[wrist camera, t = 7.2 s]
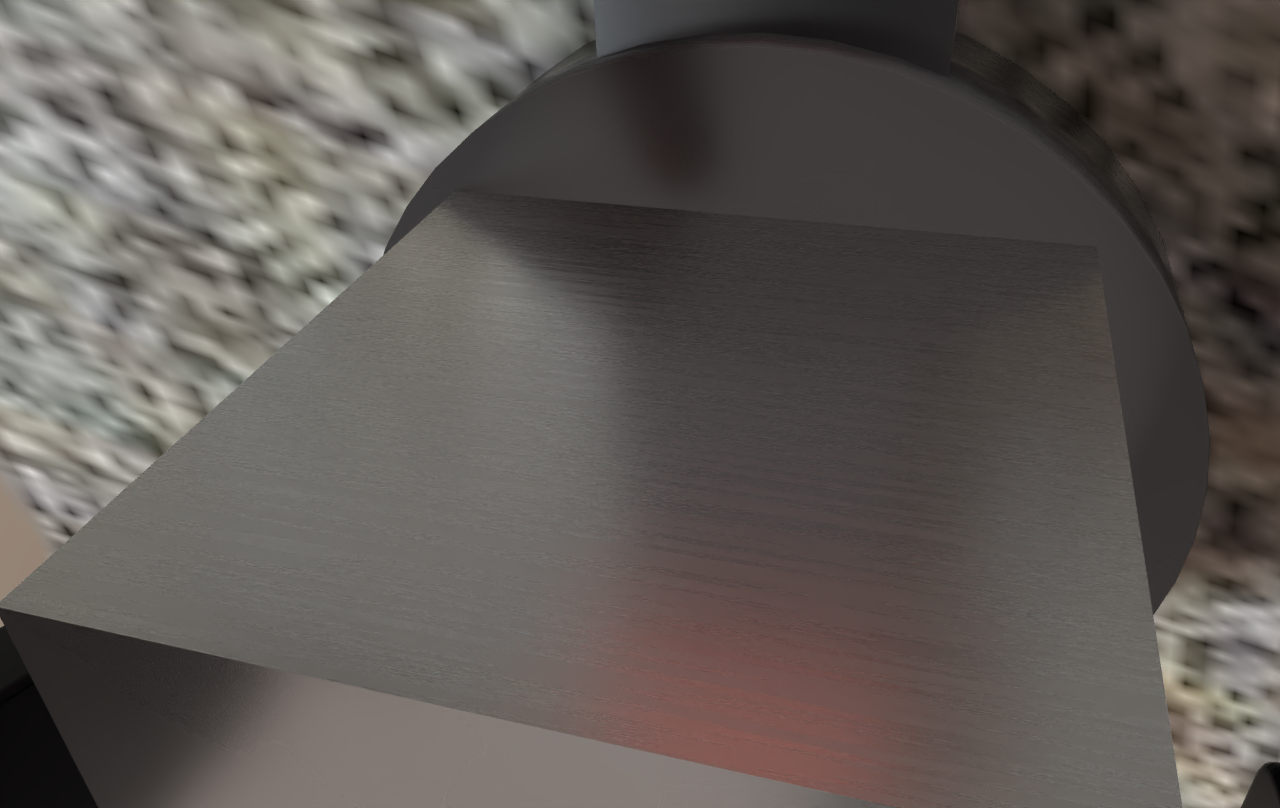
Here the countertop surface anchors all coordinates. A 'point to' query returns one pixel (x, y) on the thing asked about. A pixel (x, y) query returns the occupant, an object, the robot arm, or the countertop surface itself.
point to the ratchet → (861, 172)
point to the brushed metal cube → (634, 536)
